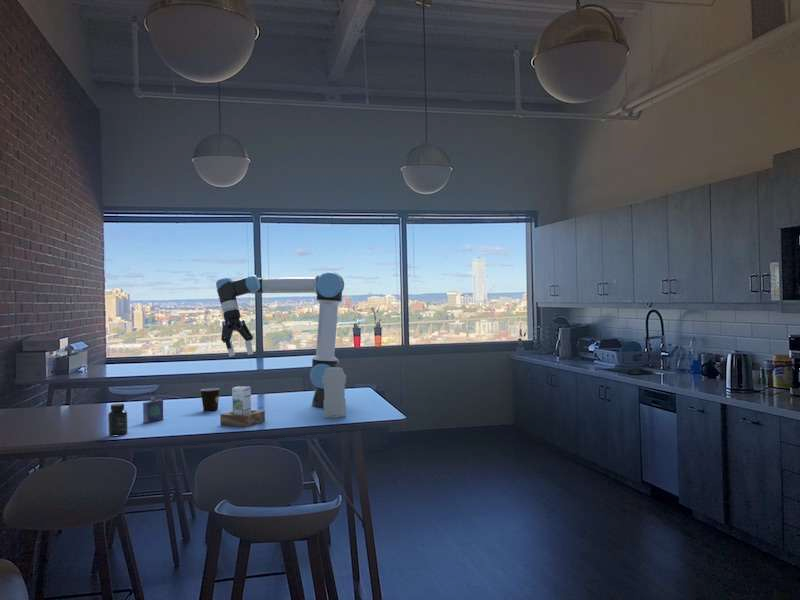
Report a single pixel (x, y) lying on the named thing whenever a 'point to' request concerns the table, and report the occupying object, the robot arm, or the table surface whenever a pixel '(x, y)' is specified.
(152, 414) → the flask
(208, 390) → the coffee mug
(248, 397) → the white printed canister
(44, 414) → the table surface
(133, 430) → the table surface
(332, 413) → the tall pale column
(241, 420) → the socket block
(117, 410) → the supplement bottle
